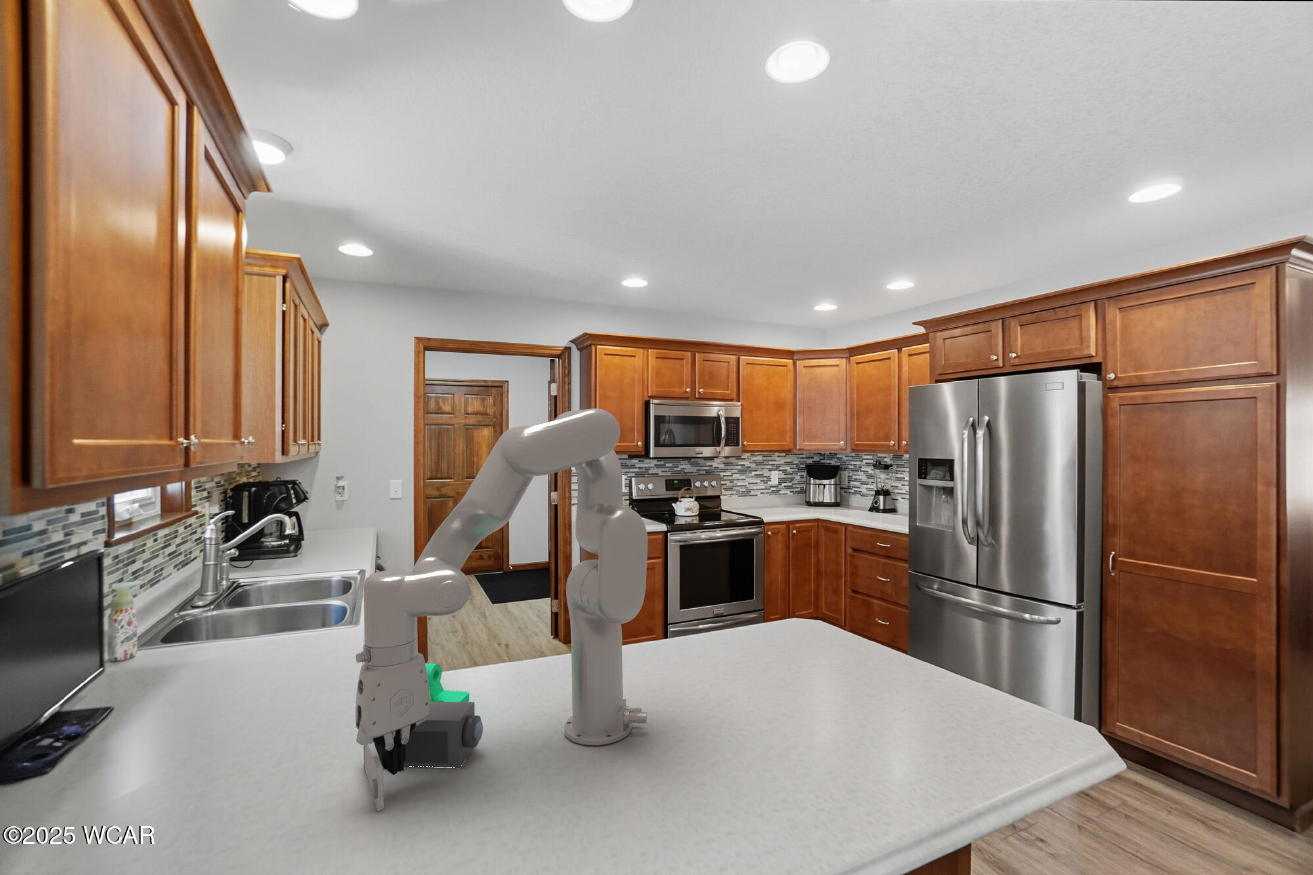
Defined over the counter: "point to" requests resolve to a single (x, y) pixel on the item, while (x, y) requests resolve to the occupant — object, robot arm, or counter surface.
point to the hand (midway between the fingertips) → (394, 769)
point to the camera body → (443, 736)
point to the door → (374, 773)
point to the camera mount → (437, 690)
